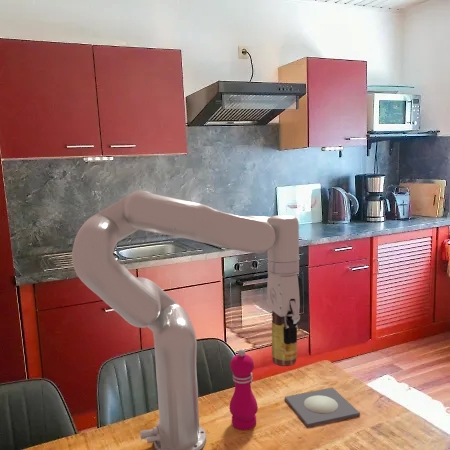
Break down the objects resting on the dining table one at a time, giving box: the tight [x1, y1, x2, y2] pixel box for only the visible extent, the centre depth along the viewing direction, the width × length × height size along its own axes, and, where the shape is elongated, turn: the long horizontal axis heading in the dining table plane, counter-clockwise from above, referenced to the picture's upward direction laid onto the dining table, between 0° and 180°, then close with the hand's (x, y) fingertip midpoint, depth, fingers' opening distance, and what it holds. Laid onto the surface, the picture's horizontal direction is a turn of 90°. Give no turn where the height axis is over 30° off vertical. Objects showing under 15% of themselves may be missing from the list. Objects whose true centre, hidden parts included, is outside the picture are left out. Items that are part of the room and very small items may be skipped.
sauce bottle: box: [271, 311, 298, 367], centre depth 111 cm, size 6×6×20 cm
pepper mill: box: [229, 348, 259, 431], centre depth 114 cm, size 7×7×20 cm
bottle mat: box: [284, 387, 361, 428], centre depth 121 cm, size 15×14×1 cm
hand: (284, 336), depth 111 cm, fingers closed on sauce bottle, 6 cm apart
